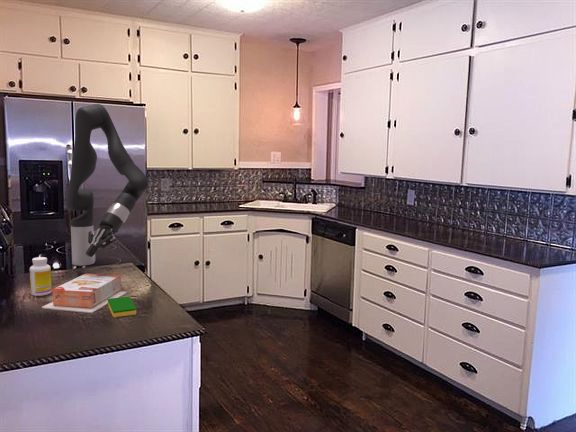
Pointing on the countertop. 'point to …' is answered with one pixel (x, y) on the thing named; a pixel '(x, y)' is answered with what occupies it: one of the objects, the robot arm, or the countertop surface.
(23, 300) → the countertop surface
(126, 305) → the dish sponge
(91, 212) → the robot arm
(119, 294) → the mat
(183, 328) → the countertop surface
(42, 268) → the supplement bottle
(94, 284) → the cracker box
